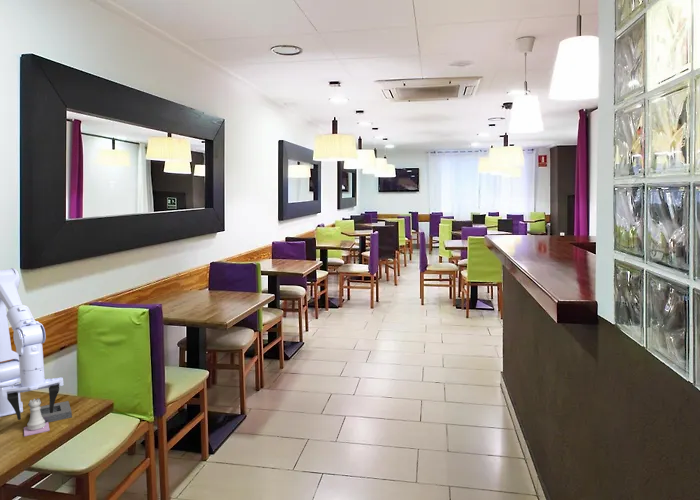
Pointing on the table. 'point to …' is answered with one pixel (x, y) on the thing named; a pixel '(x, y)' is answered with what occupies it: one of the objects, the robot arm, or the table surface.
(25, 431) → the mat
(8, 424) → the table surface
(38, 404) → the rook chess piece
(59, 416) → the socket block
